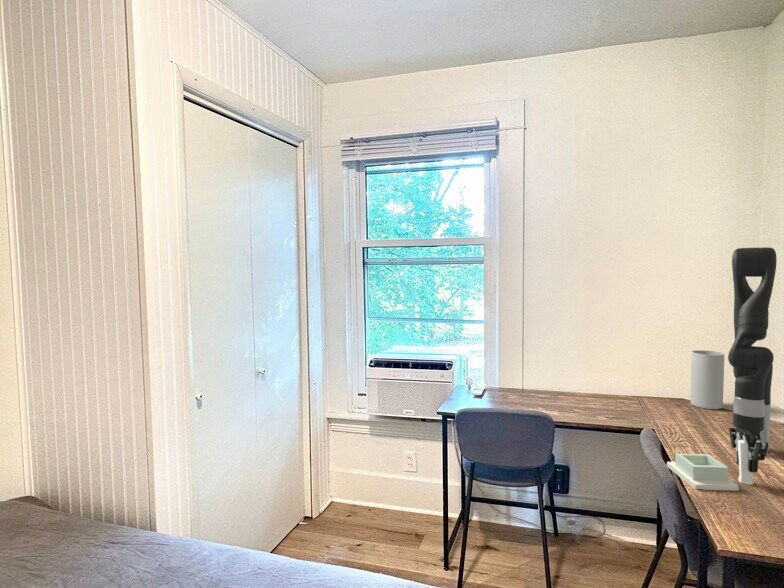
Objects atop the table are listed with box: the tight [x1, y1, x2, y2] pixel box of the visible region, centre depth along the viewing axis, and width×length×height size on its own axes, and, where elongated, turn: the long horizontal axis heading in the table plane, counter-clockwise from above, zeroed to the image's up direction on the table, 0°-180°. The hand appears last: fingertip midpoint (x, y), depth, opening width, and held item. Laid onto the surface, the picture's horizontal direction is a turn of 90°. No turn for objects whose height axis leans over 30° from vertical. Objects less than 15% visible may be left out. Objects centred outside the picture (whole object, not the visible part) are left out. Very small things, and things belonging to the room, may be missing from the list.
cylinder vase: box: [690, 349, 725, 410], centre depth 215 cm, size 12×12×25 cm
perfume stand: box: [666, 453, 740, 492], centre depth 143 cm, size 16×12×6 cm
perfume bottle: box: [737, 433, 755, 486], centre depth 140 cm, size 5×4×15 cm
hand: (746, 467), depth 140 cm, fingers closed on perfume bottle, 4 cm apart
